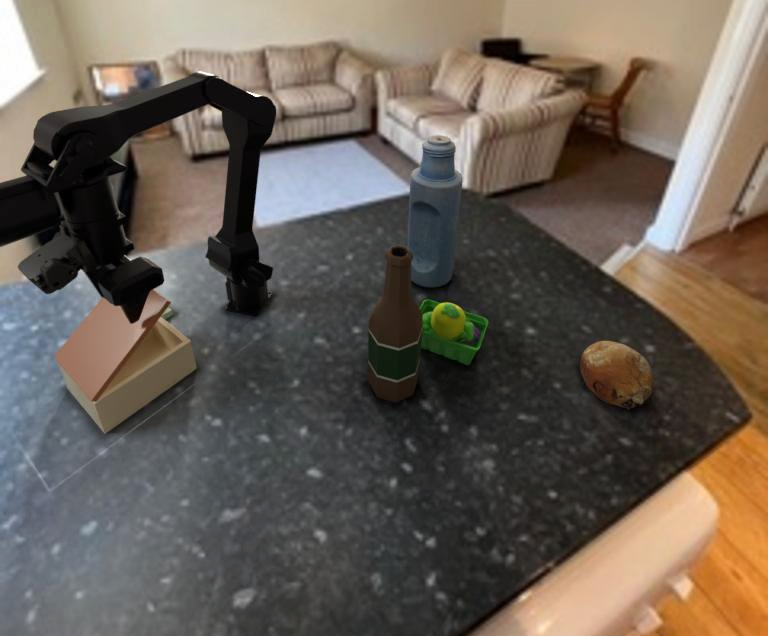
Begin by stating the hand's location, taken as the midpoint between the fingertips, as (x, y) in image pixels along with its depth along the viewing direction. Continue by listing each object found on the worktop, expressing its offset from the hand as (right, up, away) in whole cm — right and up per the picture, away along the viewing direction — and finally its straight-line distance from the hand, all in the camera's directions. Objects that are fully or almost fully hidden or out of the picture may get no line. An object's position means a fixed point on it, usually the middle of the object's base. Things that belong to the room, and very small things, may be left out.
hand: (119, 308), depth 63 cm
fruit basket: (+48, -10, +12) cm, 50 cm away
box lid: (-1, -3, 0) cm, 3 cm away
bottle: (+47, -2, +30) cm, 55 cm away
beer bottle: (+39, -13, +6) cm, 41 cm away
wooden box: (-1, -12, +5) cm, 13 cm away
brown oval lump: (+73, -14, +6) cm, 74 cm away
